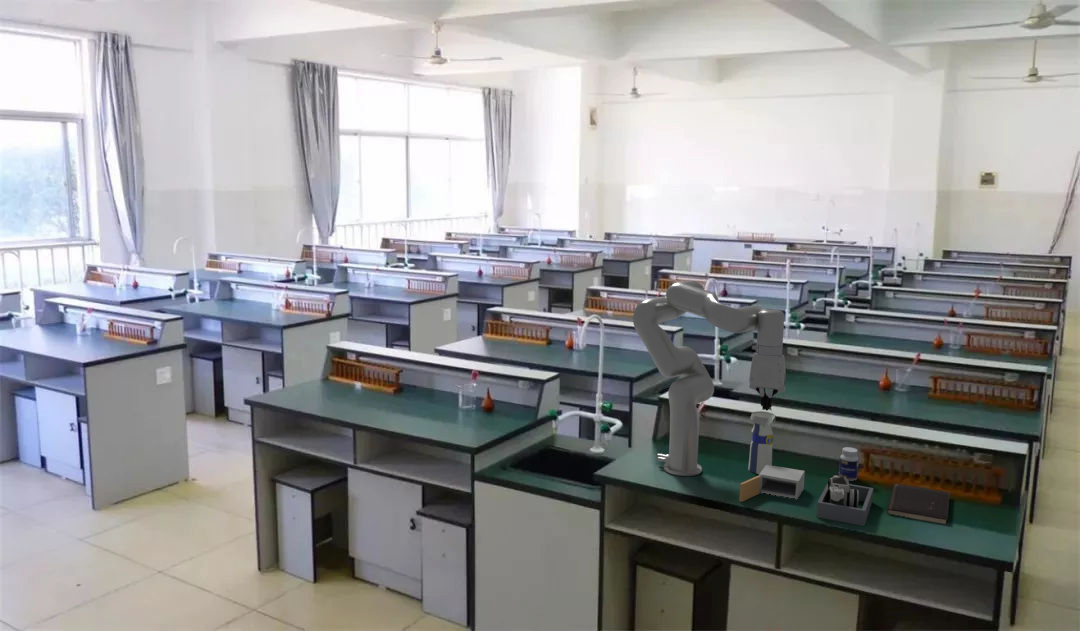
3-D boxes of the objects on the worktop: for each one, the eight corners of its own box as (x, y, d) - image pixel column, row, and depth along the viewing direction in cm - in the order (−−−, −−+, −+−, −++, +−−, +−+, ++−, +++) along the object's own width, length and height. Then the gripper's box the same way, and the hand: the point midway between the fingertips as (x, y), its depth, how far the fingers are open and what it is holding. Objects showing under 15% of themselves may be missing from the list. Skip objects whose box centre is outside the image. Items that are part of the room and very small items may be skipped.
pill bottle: (838, 480, 275) (840, 450, 273) (839, 474, 280) (841, 445, 278) (856, 482, 273) (859, 453, 271) (857, 476, 278) (859, 447, 276)
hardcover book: (949, 499, 261) (949, 492, 260) (946, 526, 240) (947, 519, 240) (893, 490, 268) (893, 483, 267) (886, 515, 247) (887, 508, 247)
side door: (758, 491, 263) (759, 474, 262) (761, 492, 262) (762, 475, 261) (739, 500, 256) (740, 483, 255) (742, 501, 255) (742, 484, 254)
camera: (858, 522, 241) (861, 489, 239) (827, 518, 244) (829, 486, 242) (855, 502, 256) (858, 471, 254) (825, 499, 259) (828, 467, 257)
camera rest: (816, 517, 245) (817, 502, 244) (827, 494, 262) (828, 480, 261) (864, 525, 239) (865, 510, 238) (872, 502, 256) (873, 488, 255)
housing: (758, 492, 263) (759, 474, 262) (765, 482, 272) (766, 464, 271) (797, 499, 258) (798, 480, 257) (803, 489, 266) (804, 470, 265)
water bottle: (779, 471, 282) (783, 398, 278) (761, 476, 278) (765, 402, 273) (759, 464, 289) (763, 393, 285) (742, 468, 284) (746, 396, 280)
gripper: (741, 350, 255) (738, 408, 258) (792, 355, 248) (788, 415, 251) (747, 345, 262) (744, 403, 265) (797, 350, 255) (793, 409, 258)
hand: (766, 408), depth 258 cm, fingers closed
